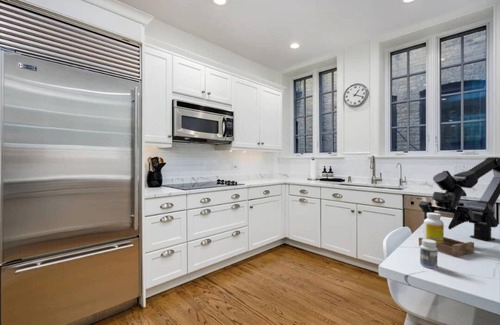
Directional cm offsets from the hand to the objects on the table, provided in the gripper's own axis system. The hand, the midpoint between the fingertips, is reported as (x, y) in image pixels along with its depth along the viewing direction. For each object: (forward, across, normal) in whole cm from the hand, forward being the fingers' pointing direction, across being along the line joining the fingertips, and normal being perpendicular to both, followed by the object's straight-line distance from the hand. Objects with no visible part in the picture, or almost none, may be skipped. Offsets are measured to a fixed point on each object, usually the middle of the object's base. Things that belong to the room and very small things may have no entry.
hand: (436, 226), depth 106 cm
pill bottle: (+23, +11, -12) cm, 28 cm away
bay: (+7, +4, +4) cm, 9 cm away
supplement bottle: (+7, 0, +4) cm, 8 cm away
